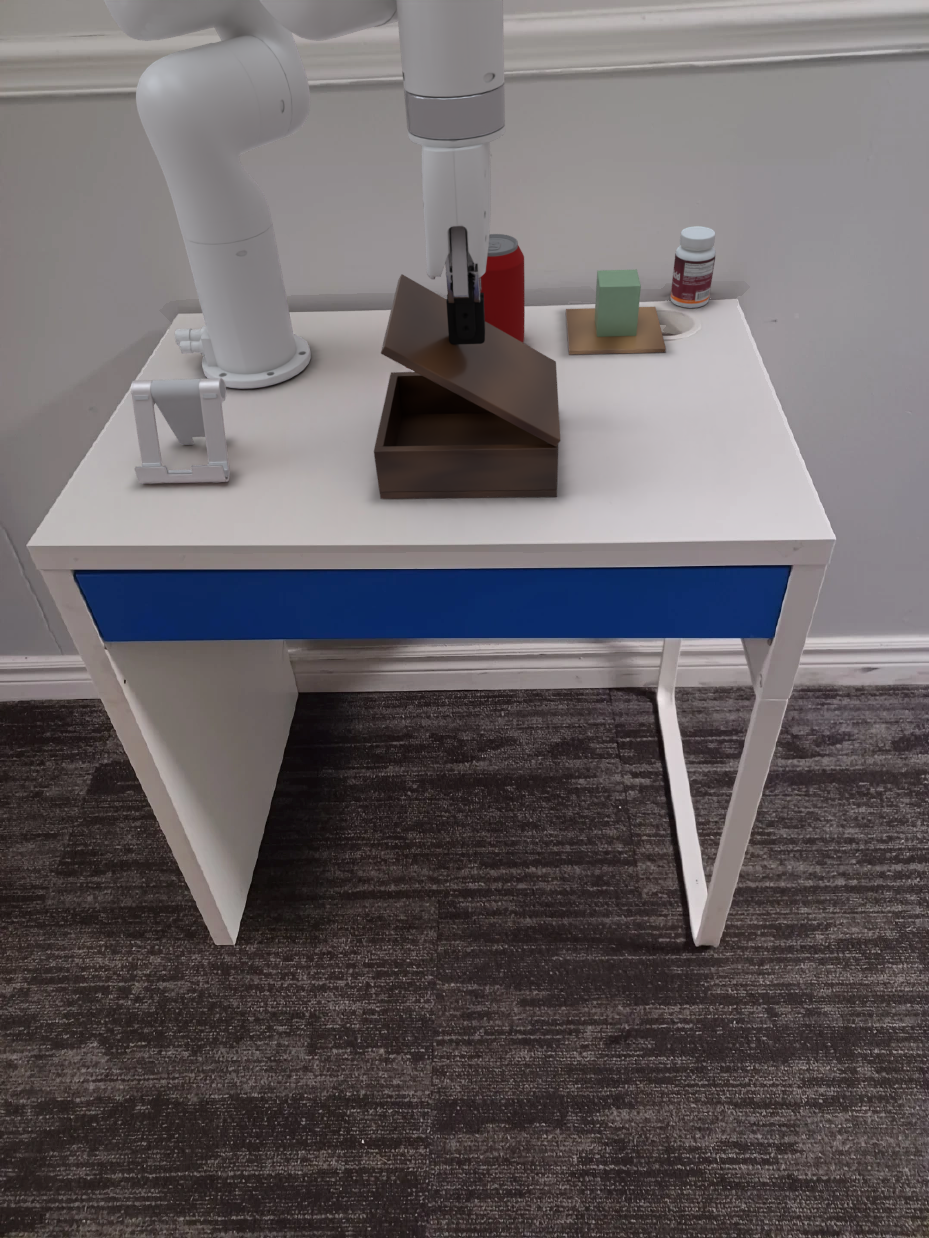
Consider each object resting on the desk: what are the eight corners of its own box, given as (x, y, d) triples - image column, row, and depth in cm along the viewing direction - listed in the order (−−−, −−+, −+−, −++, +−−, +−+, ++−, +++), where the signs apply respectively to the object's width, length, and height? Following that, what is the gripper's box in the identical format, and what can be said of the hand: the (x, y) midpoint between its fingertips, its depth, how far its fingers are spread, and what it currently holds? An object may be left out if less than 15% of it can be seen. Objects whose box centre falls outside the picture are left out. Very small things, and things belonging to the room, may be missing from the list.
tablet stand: (140, 488, 87) (113, 412, 81) (163, 444, 93) (139, 370, 87) (226, 486, 86) (205, 410, 81) (244, 442, 92) (225, 368, 86)
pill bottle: (669, 292, 113) (677, 224, 107) (707, 292, 113) (717, 224, 107) (670, 308, 110) (678, 239, 104) (709, 309, 109) (720, 240, 103)
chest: (380, 499, 84) (373, 451, 80) (395, 417, 94) (390, 372, 91) (556, 497, 83) (558, 448, 79) (552, 415, 93) (554, 368, 89)
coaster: (569, 354, 102) (569, 350, 102) (565, 312, 110) (565, 308, 110) (665, 352, 102) (665, 348, 101) (655, 310, 110) (655, 306, 109)
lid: (380, 354, 73) (384, 346, 73) (397, 280, 84) (401, 273, 83) (556, 447, 79) (561, 440, 78) (551, 367, 89) (556, 361, 89)
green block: (596, 337, 104) (599, 287, 100) (594, 319, 108) (597, 270, 103) (636, 336, 104) (640, 286, 100) (632, 318, 107) (637, 269, 103)
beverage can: (526, 333, 107) (525, 231, 99) (523, 360, 102) (522, 255, 94) (470, 333, 108) (465, 231, 99) (464, 359, 103) (459, 255, 95)
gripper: (414, 90, 73) (431, 305, 86) (396, 144, 62) (419, 382, 75) (505, 85, 72) (509, 303, 85) (503, 139, 62) (508, 380, 74)
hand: (467, 339), depth 80 cm, fingers closed
